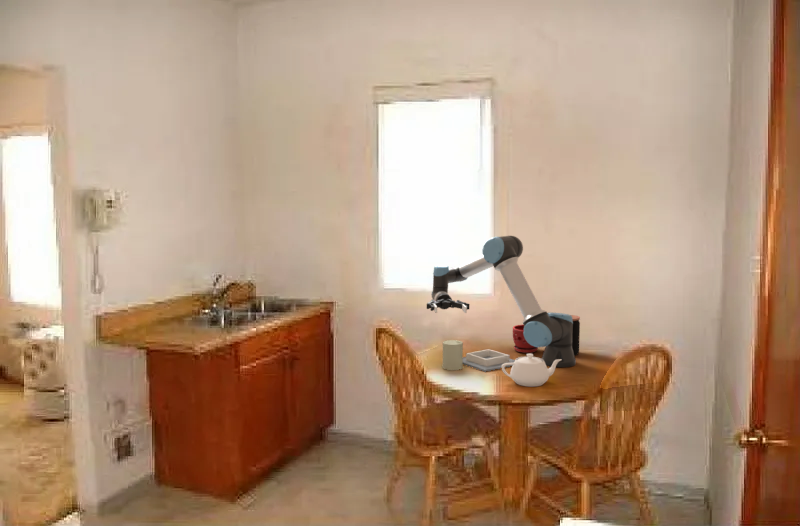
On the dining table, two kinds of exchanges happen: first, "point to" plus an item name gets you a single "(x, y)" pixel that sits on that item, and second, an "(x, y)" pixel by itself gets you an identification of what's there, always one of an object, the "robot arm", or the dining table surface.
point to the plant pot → (521, 340)
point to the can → (452, 354)
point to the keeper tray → (487, 360)
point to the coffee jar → (575, 334)
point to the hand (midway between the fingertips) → (451, 310)
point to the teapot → (530, 370)
